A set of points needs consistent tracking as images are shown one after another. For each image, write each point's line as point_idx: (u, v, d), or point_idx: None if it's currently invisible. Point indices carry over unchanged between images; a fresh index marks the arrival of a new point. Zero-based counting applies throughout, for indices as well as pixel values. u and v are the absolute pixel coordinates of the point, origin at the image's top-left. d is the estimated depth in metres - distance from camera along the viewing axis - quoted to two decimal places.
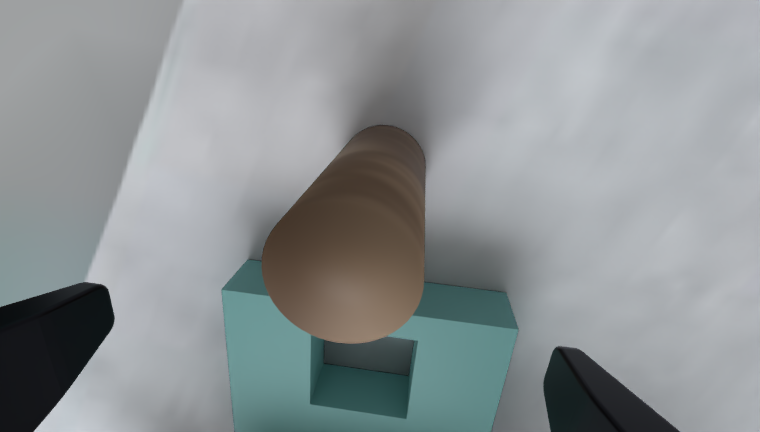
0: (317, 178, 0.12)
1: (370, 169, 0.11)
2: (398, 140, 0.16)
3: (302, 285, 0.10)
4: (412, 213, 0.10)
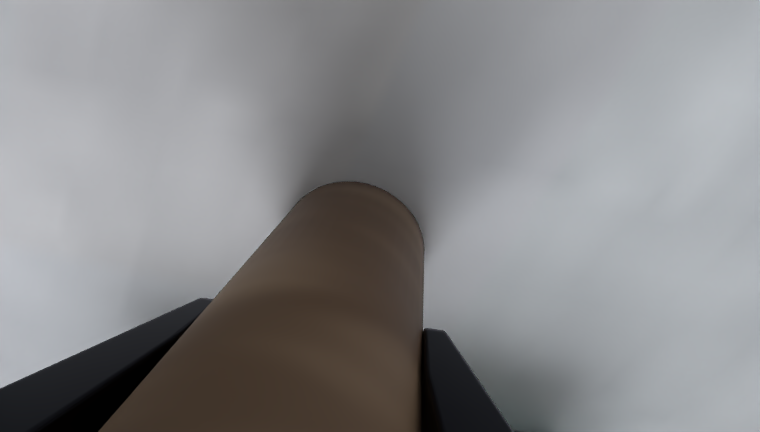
0: (122, 405, 0.04)
1: (246, 426, 0.04)
2: (370, 227, 0.08)
3: None
4: None
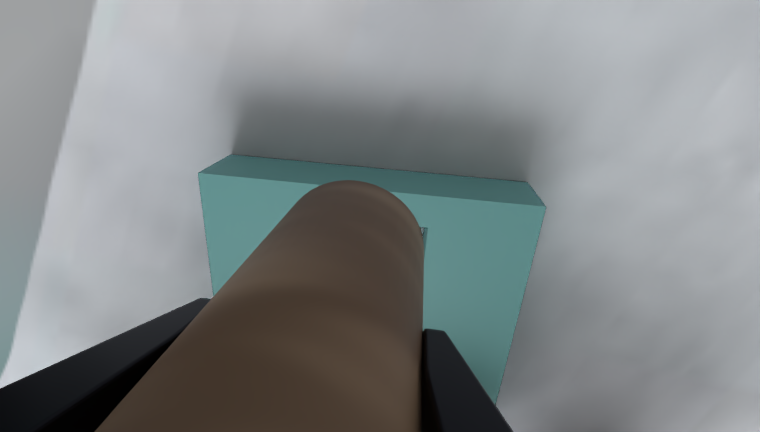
0: (121, 403, 0.04)
1: (245, 423, 0.04)
2: (370, 225, 0.08)
3: None
4: None
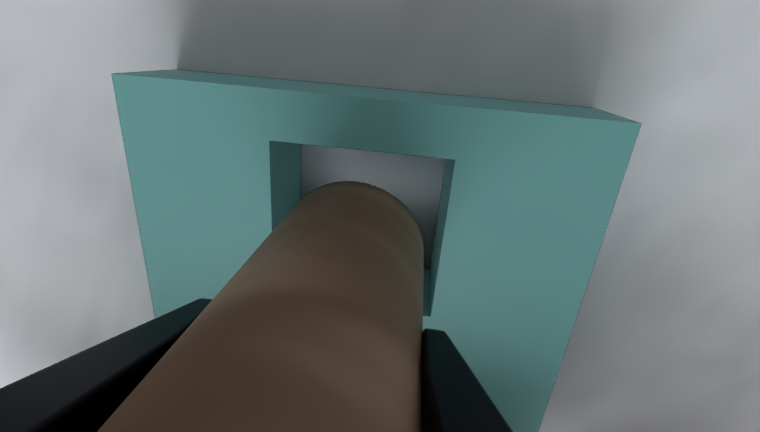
0: (120, 406, 0.04)
1: (245, 428, 0.04)
2: (370, 227, 0.08)
3: None
4: None
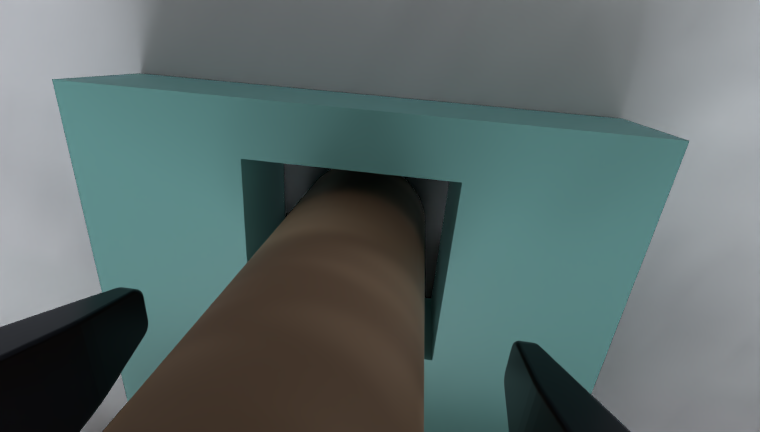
0: (214, 302, 0.06)
1: (309, 301, 0.05)
2: (381, 195, 0.10)
3: None
4: (395, 430, 0.04)
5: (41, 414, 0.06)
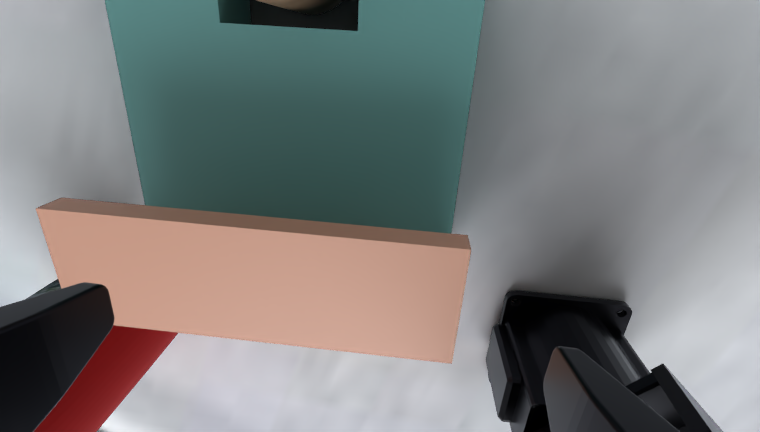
0: None
1: None
2: None
3: None
4: None
5: None
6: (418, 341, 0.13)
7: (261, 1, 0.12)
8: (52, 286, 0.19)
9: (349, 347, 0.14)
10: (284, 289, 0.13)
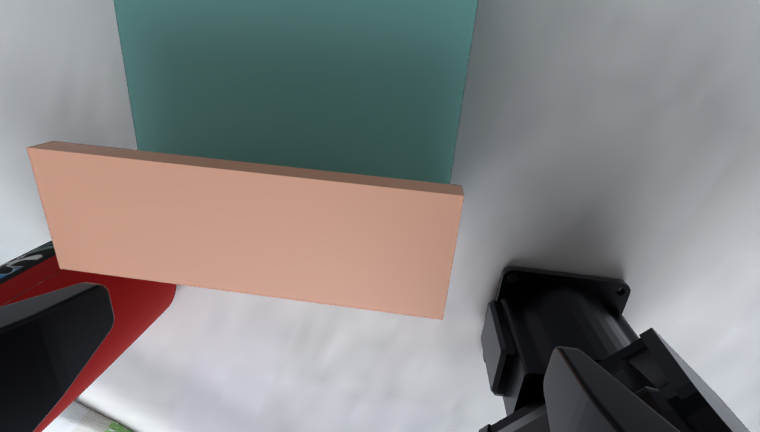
0: None
1: None
2: None
3: None
4: None
5: None
6: (409, 295, 0.13)
7: None
8: (45, 245, 0.19)
9: (339, 301, 0.14)
10: (274, 237, 0.13)
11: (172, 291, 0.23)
